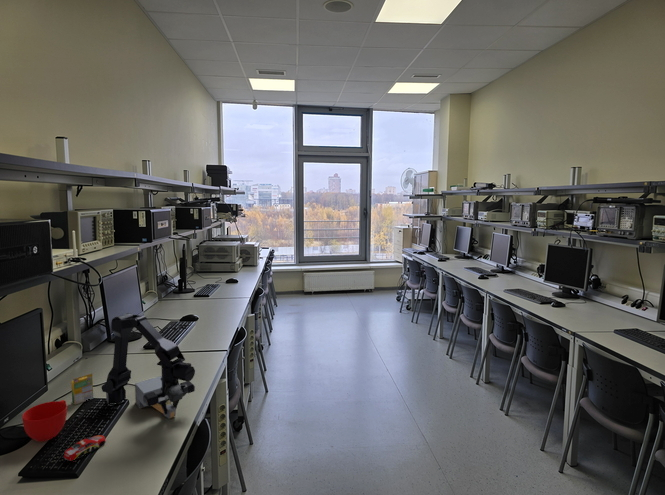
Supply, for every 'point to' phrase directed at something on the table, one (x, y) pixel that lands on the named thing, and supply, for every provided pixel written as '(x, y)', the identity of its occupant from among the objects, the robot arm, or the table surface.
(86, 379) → the crayon box
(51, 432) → the red spouted bowl
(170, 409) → the gray mallet
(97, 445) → the race car
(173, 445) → the table surface
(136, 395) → the cabinet
